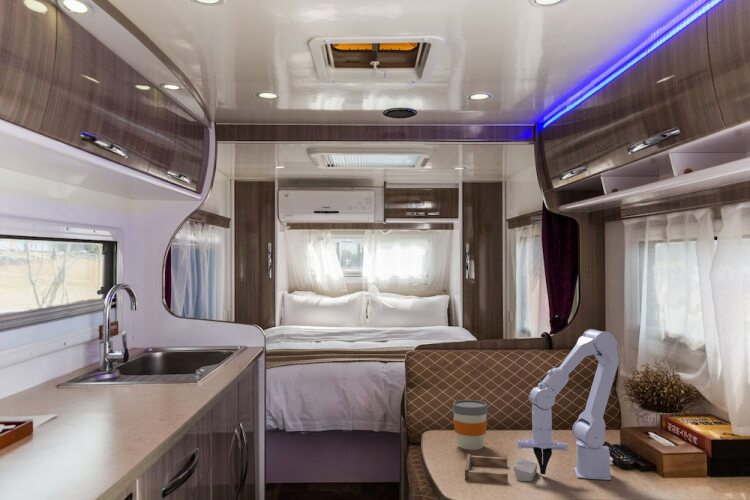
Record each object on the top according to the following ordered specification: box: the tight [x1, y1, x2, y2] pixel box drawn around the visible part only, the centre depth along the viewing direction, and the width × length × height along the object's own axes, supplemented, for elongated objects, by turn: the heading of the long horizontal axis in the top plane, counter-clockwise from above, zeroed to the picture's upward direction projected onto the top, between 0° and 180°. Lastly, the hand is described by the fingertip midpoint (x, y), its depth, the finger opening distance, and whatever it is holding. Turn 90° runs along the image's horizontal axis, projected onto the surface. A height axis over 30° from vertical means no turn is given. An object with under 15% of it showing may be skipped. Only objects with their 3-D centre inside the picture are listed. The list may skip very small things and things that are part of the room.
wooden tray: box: [464, 453, 509, 484], centre depth 171 cm, size 12×15×3 cm
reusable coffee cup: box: [452, 399, 489, 451], centre depth 199 cm, size 12×13×15 cm
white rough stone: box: [513, 457, 538, 482], centre depth 168 cm, size 10×6×6 cm, turn 148°
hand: (542, 473), depth 168 cm, fingers closed
